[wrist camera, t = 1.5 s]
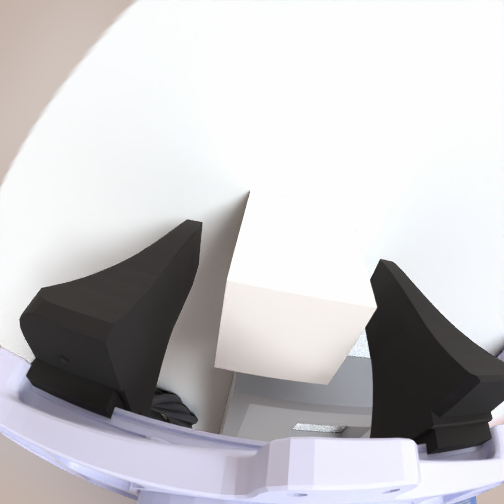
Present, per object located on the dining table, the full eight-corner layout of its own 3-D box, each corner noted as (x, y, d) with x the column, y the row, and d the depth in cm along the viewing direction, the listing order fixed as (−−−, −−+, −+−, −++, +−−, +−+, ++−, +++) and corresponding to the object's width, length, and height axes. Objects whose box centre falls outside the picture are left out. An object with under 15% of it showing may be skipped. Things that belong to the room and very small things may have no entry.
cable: (44, 380, 28) (29, 409, 24) (22, 309, 20) (-4, 347, 16) (178, 439, 30) (170, 471, 27) (214, 395, 22) (204, 444, 19)
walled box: (462, 364, 18) (475, 404, 15) (360, 452, 28) (361, 479, 25) (242, 339, 17) (233, 391, 15) (217, 440, 28) (212, 469, 25)
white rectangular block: (348, 210, 12) (377, 307, 8) (320, 284, 15) (327, 384, 10) (250, 189, 12) (226, 279, 8) (236, 268, 15) (213, 367, 10)
